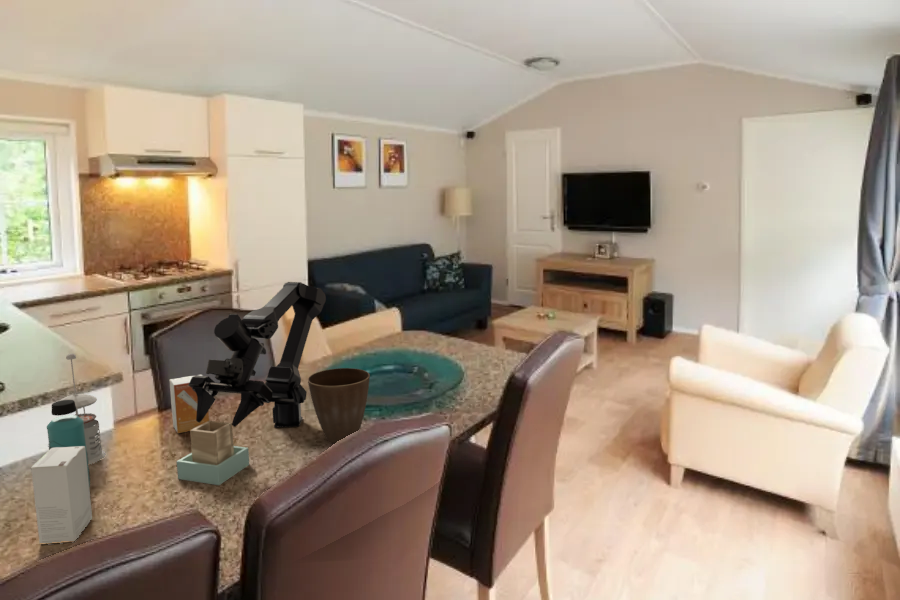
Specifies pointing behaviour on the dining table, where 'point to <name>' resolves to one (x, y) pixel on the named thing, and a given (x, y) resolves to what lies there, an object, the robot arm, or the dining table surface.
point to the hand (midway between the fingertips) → (215, 423)
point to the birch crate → (212, 442)
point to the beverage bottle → (66, 428)
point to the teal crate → (213, 468)
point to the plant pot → (339, 400)
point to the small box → (184, 405)
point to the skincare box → (61, 494)
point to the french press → (87, 422)
